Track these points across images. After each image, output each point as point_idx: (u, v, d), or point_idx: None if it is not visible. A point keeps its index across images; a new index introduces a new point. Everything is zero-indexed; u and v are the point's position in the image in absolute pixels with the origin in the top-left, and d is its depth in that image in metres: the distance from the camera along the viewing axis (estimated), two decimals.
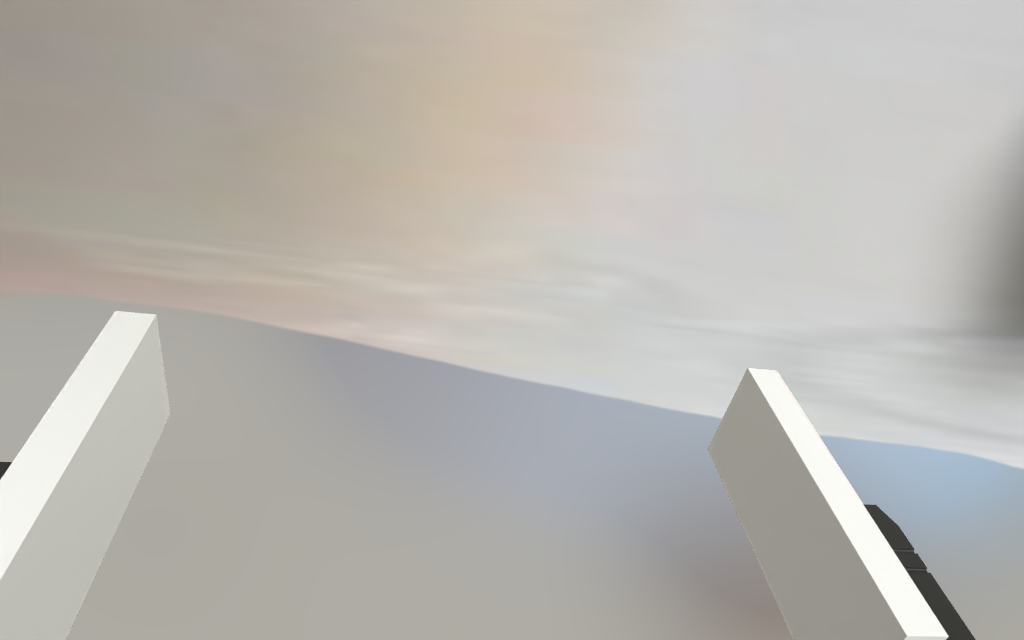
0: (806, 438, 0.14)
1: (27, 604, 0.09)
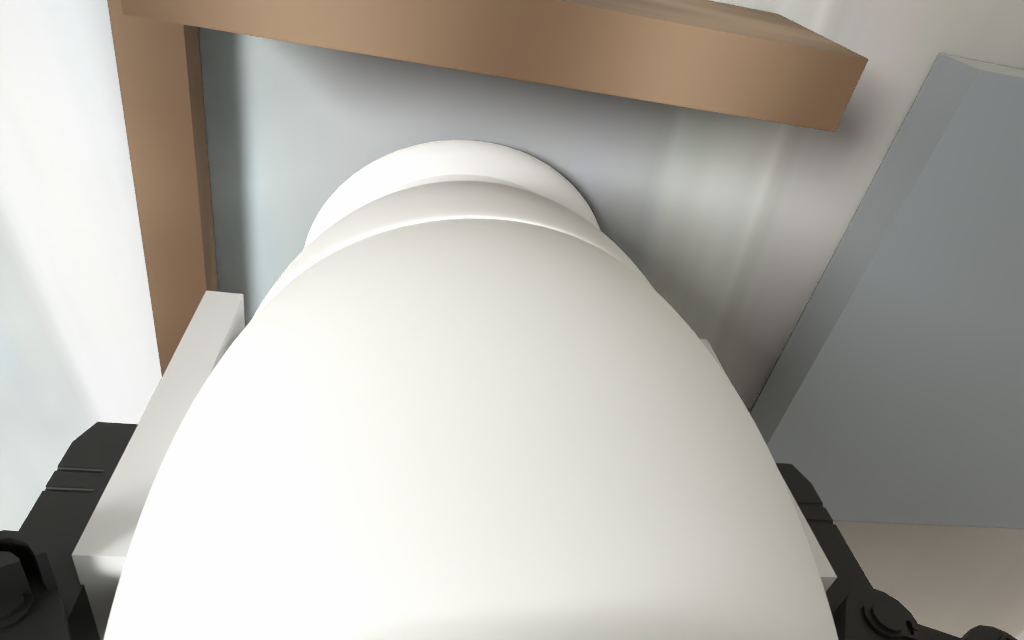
0: None
1: None
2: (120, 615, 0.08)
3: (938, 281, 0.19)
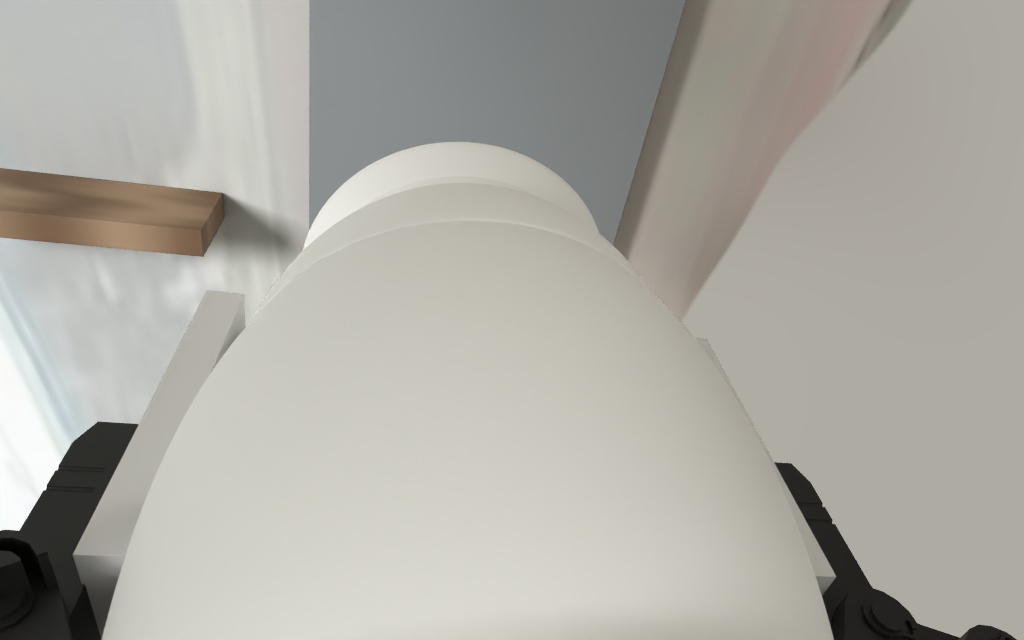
0: None
1: None
2: (117, 617, 0.08)
3: (366, 31, 0.29)
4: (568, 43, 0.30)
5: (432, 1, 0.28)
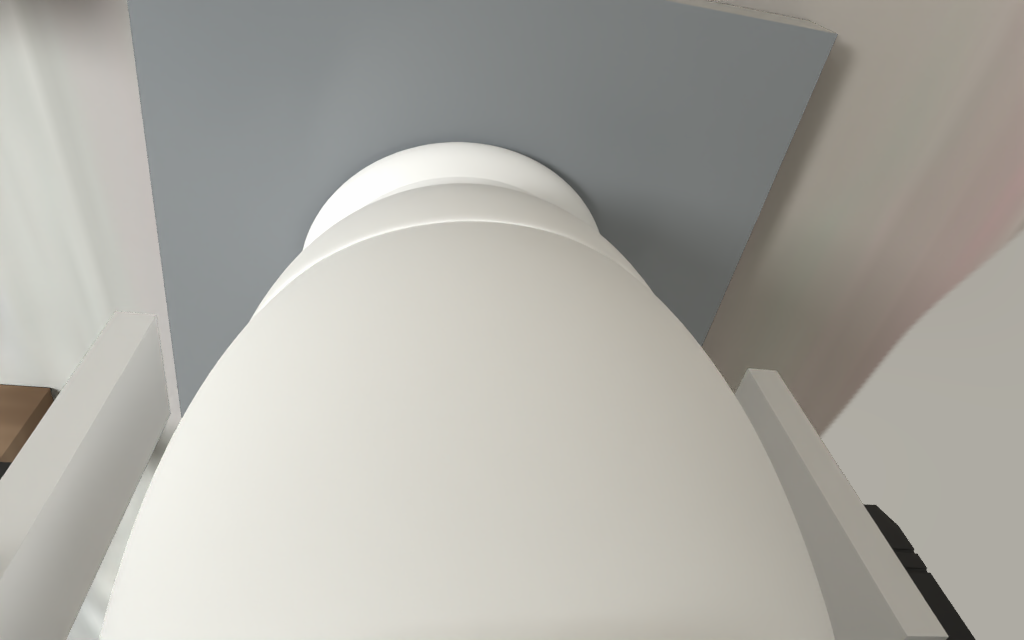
0: (806, 438, 0.14)
1: (27, 604, 0.09)
2: (113, 621, 0.08)
3: (250, 171, 0.17)
4: (597, 187, 0.18)
5: (362, 123, 0.16)
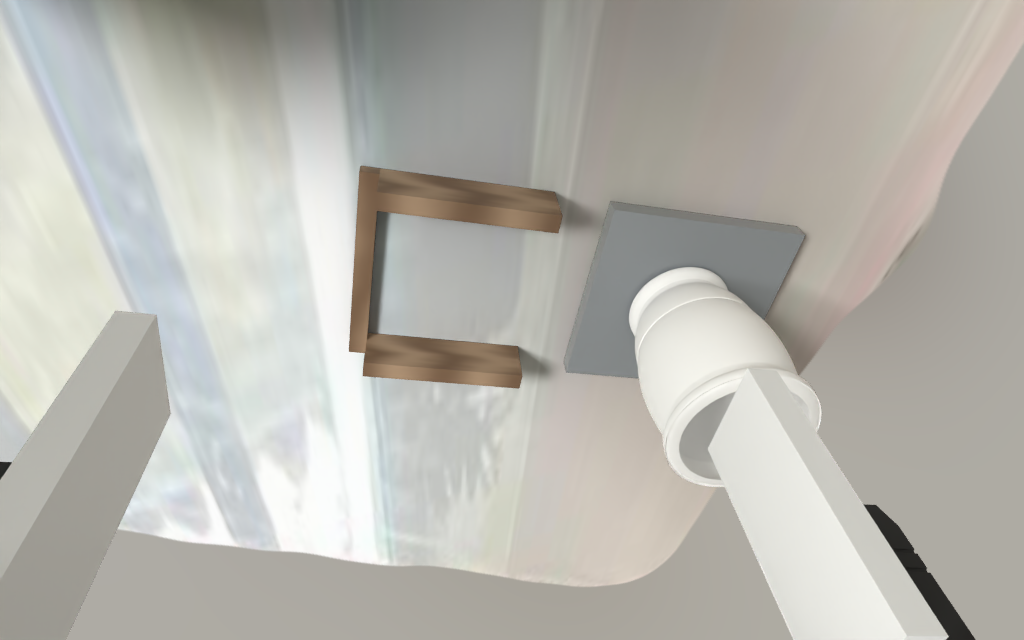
0: (806, 438, 0.14)
1: (27, 604, 0.09)
2: (676, 372, 0.45)
3: (624, 275, 0.54)
4: (728, 278, 0.55)
5: (661, 261, 0.53)
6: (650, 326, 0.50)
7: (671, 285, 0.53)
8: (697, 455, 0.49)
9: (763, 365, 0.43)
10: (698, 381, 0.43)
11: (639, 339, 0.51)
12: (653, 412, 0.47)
